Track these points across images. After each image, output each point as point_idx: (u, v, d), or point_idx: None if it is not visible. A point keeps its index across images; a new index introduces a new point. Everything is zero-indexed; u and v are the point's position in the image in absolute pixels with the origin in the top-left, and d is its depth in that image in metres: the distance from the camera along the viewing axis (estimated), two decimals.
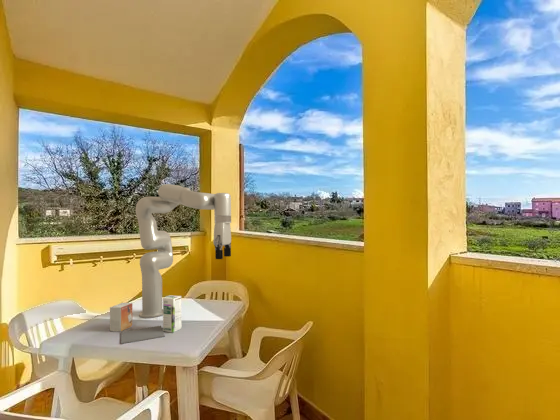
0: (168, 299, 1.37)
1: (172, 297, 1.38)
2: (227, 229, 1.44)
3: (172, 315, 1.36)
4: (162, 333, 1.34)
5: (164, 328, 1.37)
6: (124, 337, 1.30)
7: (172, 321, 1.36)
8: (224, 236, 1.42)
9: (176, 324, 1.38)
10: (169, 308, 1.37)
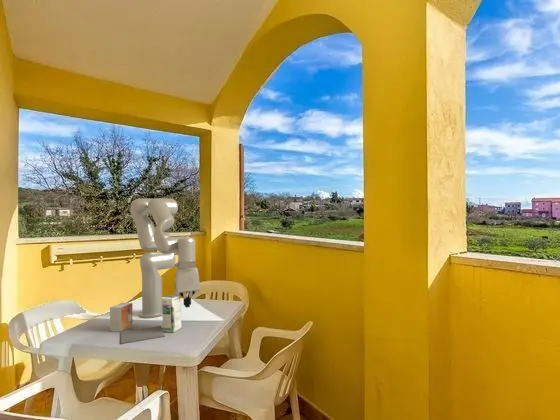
0: (167, 299, 1.37)
1: (171, 297, 1.38)
2: None
3: (172, 315, 1.36)
4: (162, 333, 1.34)
5: (164, 328, 1.37)
6: (124, 337, 1.30)
7: (171, 321, 1.36)
8: None
9: (176, 323, 1.38)
10: (168, 308, 1.36)
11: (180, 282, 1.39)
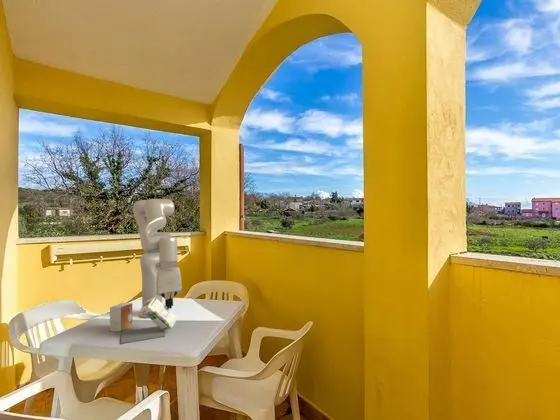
0: (145, 308, 1.32)
1: (147, 304, 1.32)
2: None
3: (158, 317, 1.33)
4: (162, 333, 1.34)
5: (162, 329, 1.37)
6: (124, 337, 1.30)
7: (163, 322, 1.34)
8: None
9: (169, 320, 1.36)
10: (152, 314, 1.33)
11: (161, 282, 1.35)
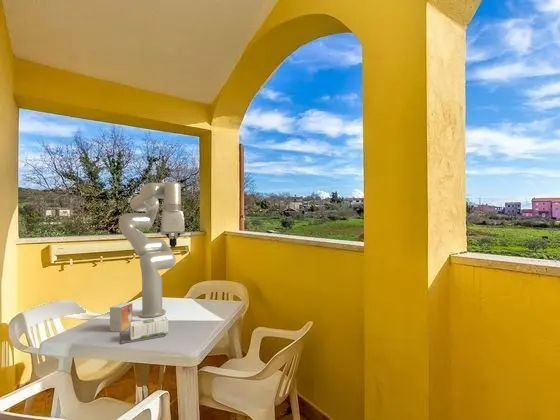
0: None
1: (130, 335, 1.28)
2: None
3: (149, 336, 1.30)
4: None
5: None
6: (124, 337, 1.30)
7: None
8: None
9: (161, 329, 1.32)
10: None
11: (165, 222, 1.47)
